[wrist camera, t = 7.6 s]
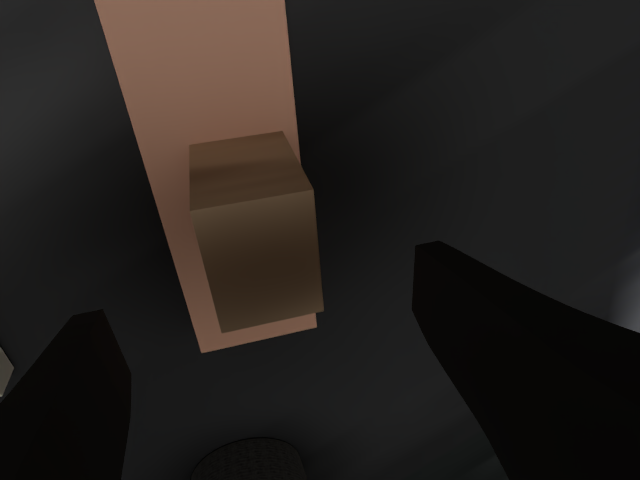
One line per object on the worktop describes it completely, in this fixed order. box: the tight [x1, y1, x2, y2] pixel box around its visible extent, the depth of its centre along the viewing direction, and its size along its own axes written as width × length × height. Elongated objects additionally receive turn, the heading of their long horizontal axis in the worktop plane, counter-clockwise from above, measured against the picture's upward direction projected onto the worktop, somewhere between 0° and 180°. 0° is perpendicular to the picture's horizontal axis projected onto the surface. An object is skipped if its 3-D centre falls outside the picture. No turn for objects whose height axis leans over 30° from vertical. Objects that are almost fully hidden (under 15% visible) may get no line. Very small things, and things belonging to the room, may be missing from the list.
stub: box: [94, 0, 324, 353], centre depth 14 cm, size 14×5×6 cm, turn 4°
